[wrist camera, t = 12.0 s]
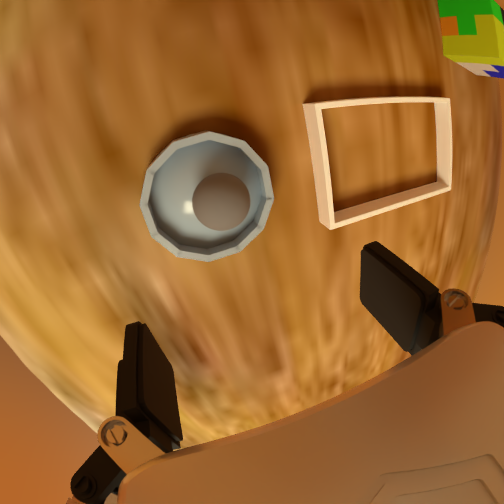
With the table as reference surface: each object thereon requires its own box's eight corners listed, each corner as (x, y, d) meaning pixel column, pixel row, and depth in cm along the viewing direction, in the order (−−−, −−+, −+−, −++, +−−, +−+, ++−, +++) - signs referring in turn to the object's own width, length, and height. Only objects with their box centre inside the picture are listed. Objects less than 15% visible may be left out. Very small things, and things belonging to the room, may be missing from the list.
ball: (175, 182, 24) (203, 189, 20) (222, 163, 26) (256, 167, 22) (191, 232, 26) (219, 248, 23) (234, 210, 29) (267, 222, 25)
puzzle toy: (475, 74, 28) (524, 82, 19) (443, 55, 26) (499, 58, 17) (471, 24, 23) (517, 26, 15) (437, 0, 21) (488, -5, 12)
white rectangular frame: (302, 103, 25) (314, 103, 23) (436, 96, 28) (449, 98, 26) (319, 221, 32) (330, 229, 30) (438, 184, 35) (450, 190, 33)
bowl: (126, 155, 23) (123, 158, 21) (252, 118, 25) (259, 119, 23) (166, 265, 29) (166, 276, 27) (274, 230, 31) (281, 238, 29)
